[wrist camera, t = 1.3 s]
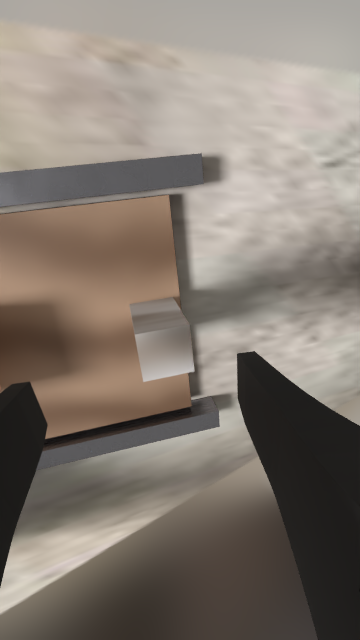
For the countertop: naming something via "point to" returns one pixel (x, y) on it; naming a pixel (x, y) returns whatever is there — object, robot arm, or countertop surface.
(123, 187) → the guide rails
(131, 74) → the countertop surface
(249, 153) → the countertop surface
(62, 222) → the sliding panel with handle
